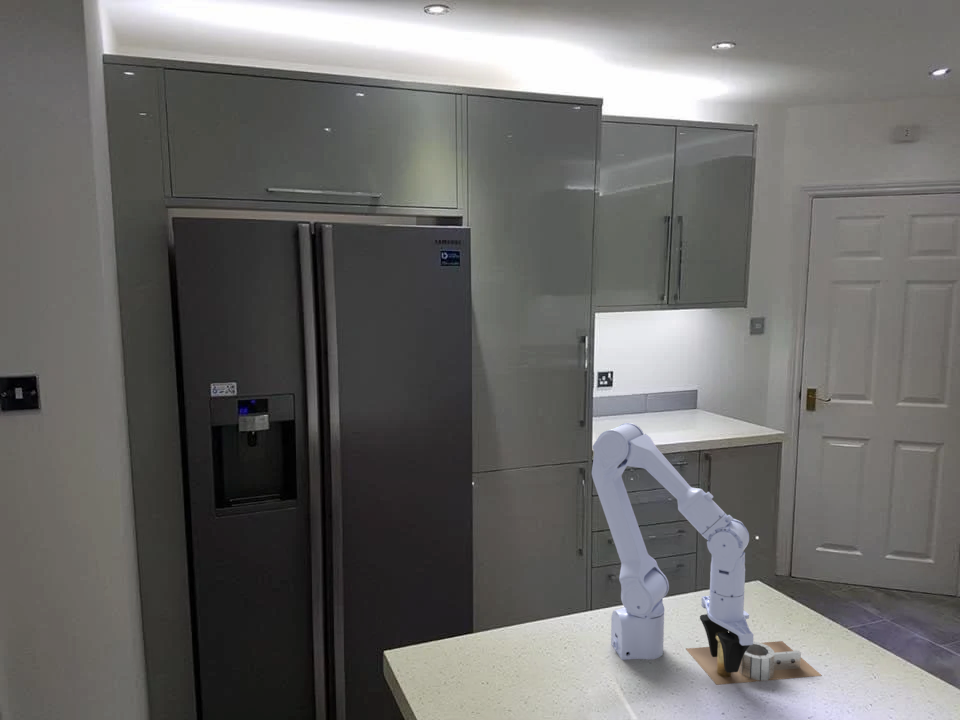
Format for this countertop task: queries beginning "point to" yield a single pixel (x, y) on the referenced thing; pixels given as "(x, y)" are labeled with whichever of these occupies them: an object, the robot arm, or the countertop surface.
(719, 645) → the brass cabinet knob
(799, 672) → the walnut board
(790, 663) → the grey winged collar
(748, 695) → the countertop surface
